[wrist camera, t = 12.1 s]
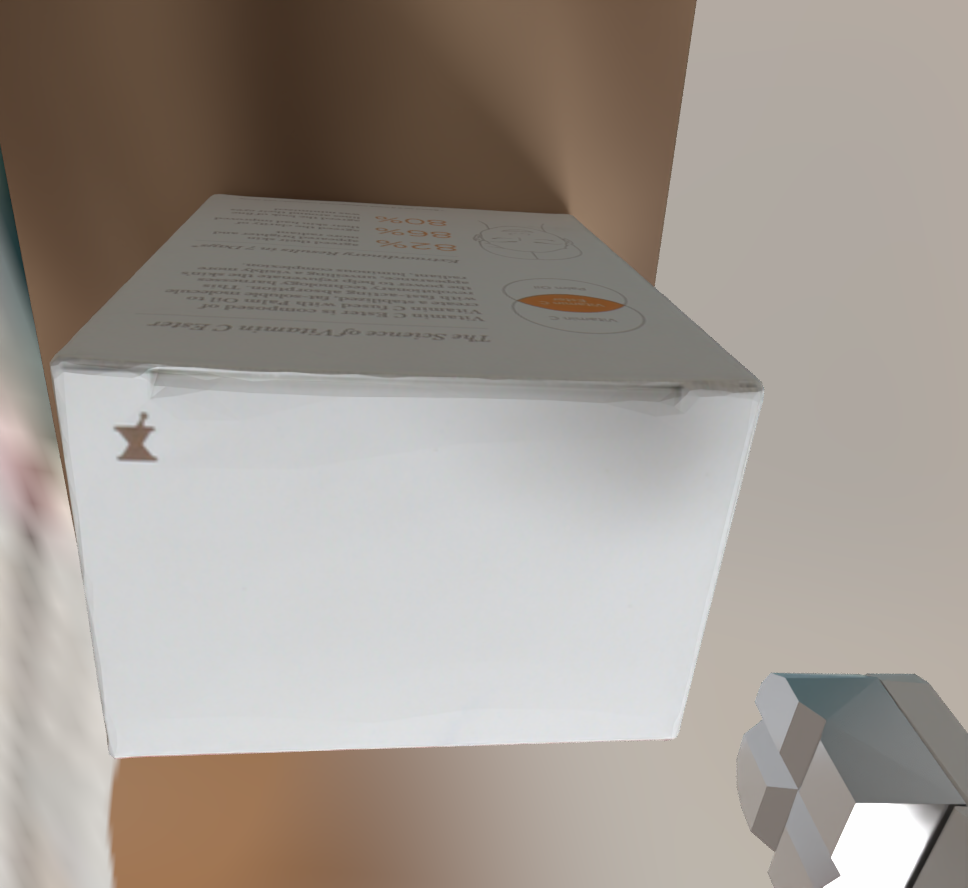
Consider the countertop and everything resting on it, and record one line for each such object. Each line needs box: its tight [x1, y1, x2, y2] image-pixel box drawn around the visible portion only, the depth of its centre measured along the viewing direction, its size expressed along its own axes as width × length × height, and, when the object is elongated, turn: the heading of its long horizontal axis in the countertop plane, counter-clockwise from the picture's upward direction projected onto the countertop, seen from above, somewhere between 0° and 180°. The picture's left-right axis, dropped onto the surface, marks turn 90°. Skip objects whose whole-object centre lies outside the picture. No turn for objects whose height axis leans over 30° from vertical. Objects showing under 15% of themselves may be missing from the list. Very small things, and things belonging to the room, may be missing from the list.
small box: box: [50, 194, 764, 759], centre depth 15 cm, size 8×6×10 cm
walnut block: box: [0, 0, 697, 547], centre depth 22 cm, size 14×14×5 cm
